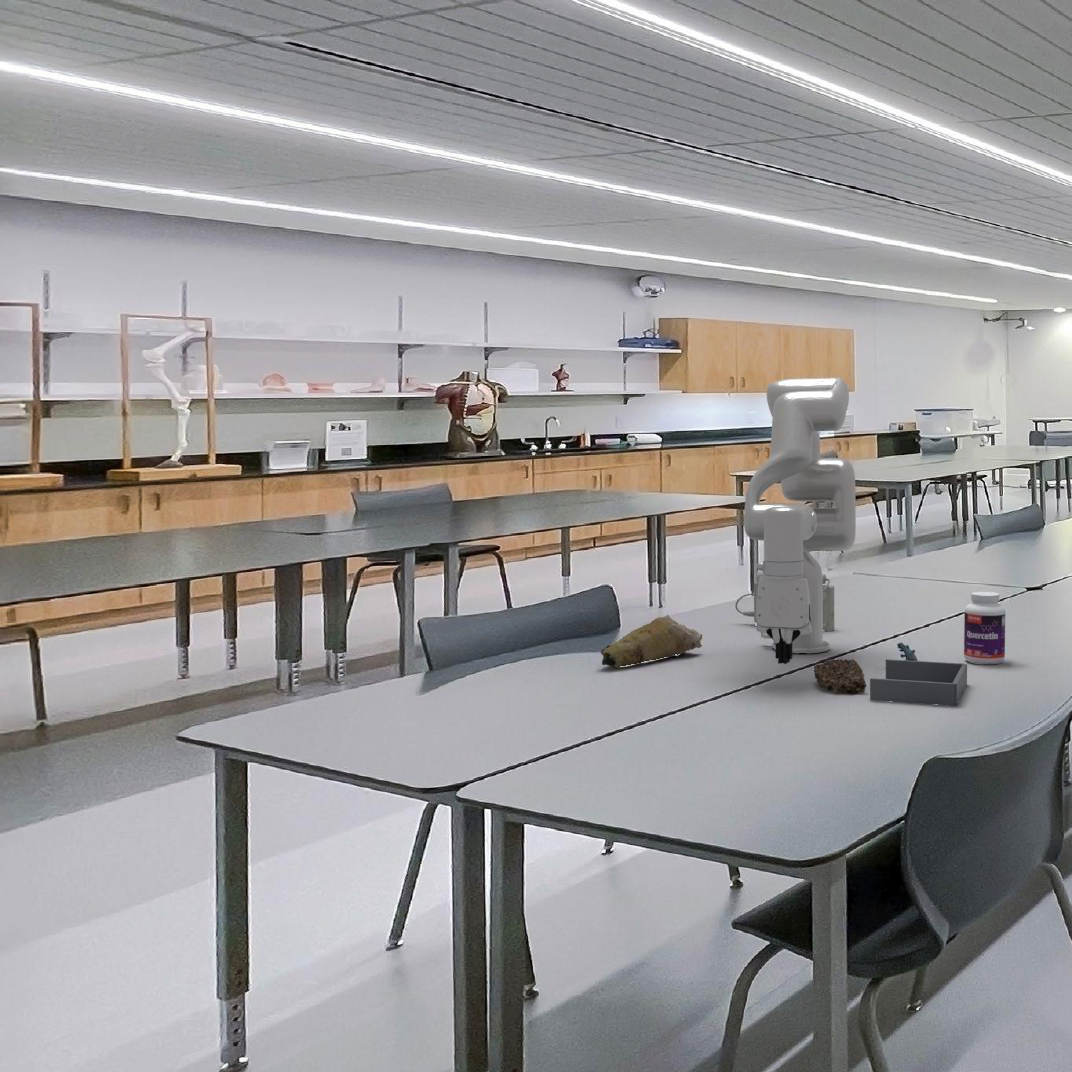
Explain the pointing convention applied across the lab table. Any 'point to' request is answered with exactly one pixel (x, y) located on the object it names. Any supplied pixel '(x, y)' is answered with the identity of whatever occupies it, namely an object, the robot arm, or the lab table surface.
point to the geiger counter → (827, 602)
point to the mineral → (651, 643)
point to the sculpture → (907, 652)
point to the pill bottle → (984, 629)
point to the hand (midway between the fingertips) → (784, 662)
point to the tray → (920, 682)
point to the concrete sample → (840, 676)
